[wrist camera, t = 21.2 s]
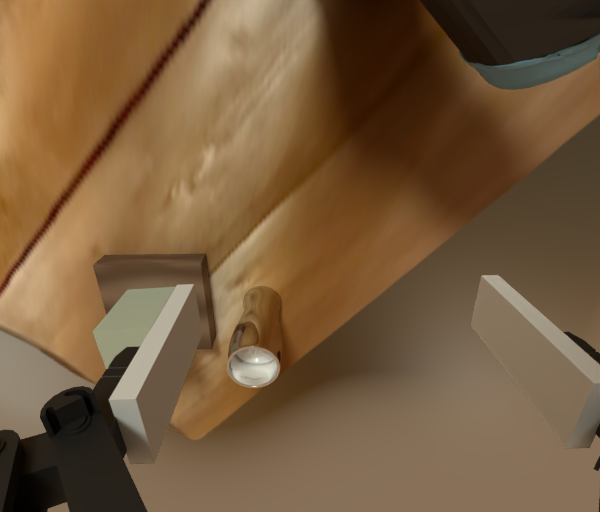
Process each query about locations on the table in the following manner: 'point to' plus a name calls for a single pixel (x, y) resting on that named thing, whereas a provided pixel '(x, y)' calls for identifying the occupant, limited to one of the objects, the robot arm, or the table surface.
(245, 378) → the beer glass
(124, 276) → the walnut block
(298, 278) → the table surface
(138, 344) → the sage block
